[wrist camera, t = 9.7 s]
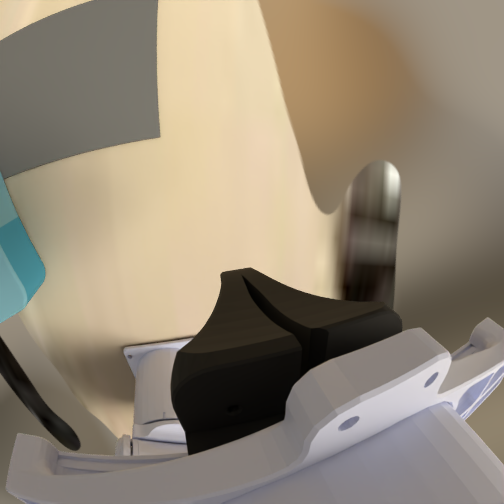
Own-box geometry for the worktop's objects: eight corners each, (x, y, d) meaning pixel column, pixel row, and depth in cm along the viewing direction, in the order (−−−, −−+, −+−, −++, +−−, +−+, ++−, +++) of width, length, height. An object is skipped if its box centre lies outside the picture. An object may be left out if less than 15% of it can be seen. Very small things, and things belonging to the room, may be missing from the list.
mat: (160, 137, 18) (160, 137, 18) (-41, 199, 13) (-43, 200, 13) (158, -12, 13) (158, -14, 12) (-40, 69, 8) (-42, 69, 8)
